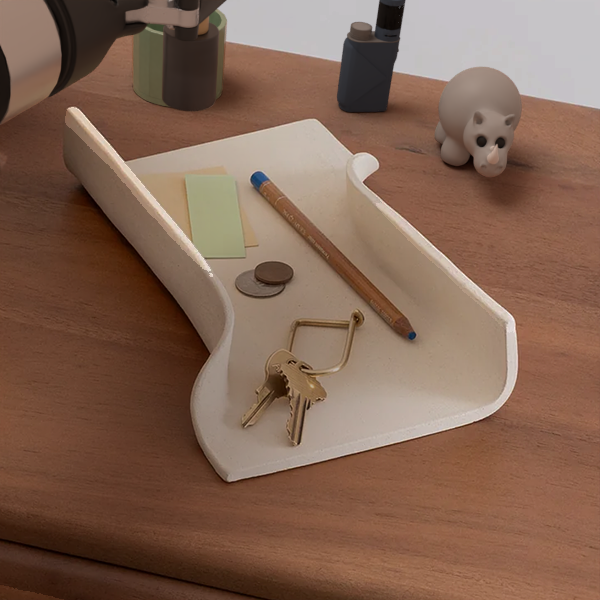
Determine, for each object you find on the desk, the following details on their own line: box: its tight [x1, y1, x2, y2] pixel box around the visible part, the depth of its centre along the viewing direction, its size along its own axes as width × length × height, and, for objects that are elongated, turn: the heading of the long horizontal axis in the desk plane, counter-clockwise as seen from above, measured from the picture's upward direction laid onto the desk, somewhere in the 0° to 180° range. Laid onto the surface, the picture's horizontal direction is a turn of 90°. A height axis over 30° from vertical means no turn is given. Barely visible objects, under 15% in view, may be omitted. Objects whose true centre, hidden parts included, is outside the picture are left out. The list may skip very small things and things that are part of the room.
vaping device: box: [336, 0, 406, 113], centre depth 99 cm, size 3×5×12 cm, turn 102°
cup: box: [131, 8, 228, 108], centre depth 100 cm, size 9×9×7 cm
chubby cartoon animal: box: [434, 66, 523, 178], centre depth 92 cm, size 7×12×8 cm, turn 179°
